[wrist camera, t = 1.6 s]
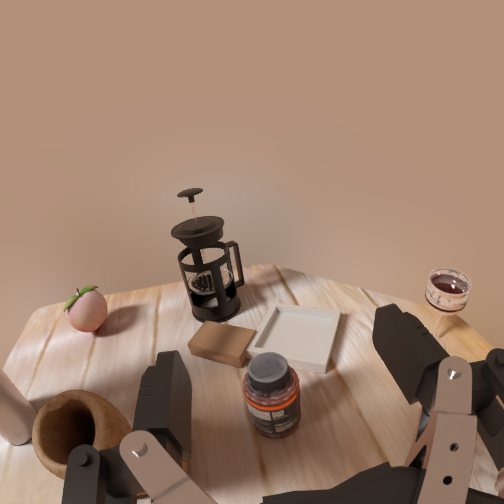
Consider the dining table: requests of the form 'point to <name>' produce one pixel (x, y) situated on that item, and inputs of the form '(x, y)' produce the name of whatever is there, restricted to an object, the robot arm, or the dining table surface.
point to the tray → (297, 335)
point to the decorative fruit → (86, 309)
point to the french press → (208, 265)
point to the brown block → (221, 343)
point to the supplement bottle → (272, 395)
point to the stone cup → (77, 428)
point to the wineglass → (446, 294)
